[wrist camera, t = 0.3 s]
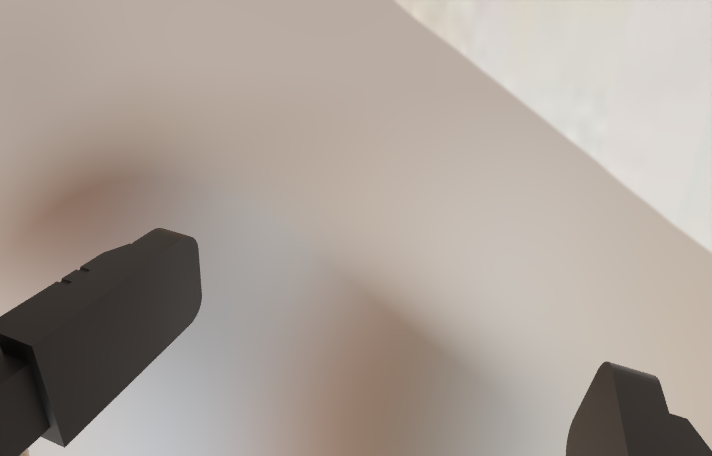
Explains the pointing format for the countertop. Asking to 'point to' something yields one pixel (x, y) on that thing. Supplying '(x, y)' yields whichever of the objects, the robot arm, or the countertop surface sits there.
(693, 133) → the countertop surface
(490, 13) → the countertop surface
